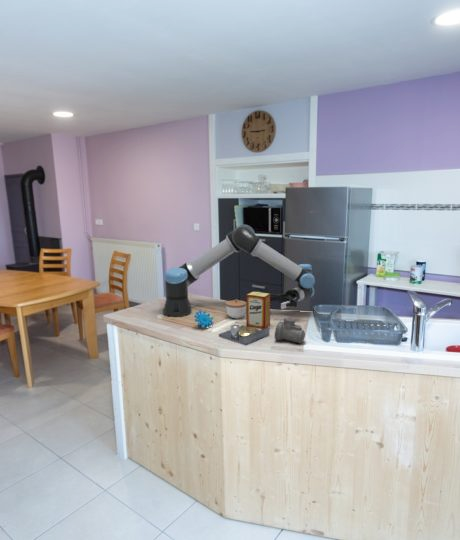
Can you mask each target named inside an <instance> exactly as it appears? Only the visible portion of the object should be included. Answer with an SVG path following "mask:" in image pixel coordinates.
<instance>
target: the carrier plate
mask: <svg viewBox="0 0 460 540" xmlns="http://www.w3.org/2000/svg"><path fill="white" fill-rule="evenodd" d="M268 336H270V326H268V327H266V328H264V329H259V328H254V327H248V326H246V325H238V324H232V325H230V329H229V330H226V331H224V332H221V333H219V334H218V337H220V338H223V339H227V340H229V341H231V342H232V341H233V342H235V343H238V344H241V345H245V346H247V345H250V344H252V343H254V342H257V341H259V340H261V339H264V338H267V337H268Z"/></svg>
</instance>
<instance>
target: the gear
mask: <svg viewBox="0 0 460 540" xmlns="http://www.w3.org/2000/svg"><path fill="white" fill-rule="evenodd" d="M194 318H195V319H194V321H195V322H197V326H201V328H202V329H204V328H206V327H208V326H211V325H213V324H214V320H213V319H215V316H214V315H213V316H211V314H210V313H207V311H206V310H204V311H203V310H202V309H201V310H200V309H199V311H196V312H195V315H194ZM200 324H201V325H200Z"/></svg>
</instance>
